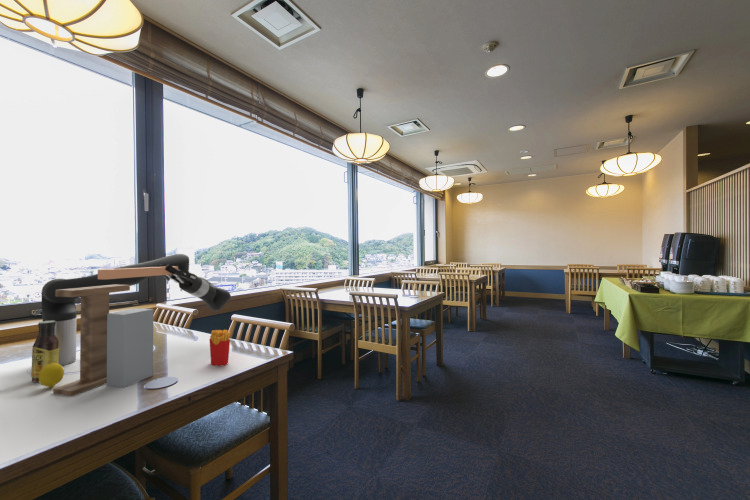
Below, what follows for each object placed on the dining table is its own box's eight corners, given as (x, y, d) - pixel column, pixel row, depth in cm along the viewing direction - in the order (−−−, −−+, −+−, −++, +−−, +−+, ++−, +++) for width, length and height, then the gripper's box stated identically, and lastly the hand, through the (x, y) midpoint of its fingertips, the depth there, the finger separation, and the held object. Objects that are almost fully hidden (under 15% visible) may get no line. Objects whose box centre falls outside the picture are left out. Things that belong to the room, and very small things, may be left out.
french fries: (206, 363, 116) (207, 330, 117) (216, 360, 120) (216, 328, 121) (224, 367, 113) (224, 333, 113) (233, 363, 117) (233, 330, 117)
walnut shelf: (53, 393, 92) (54, 289, 92) (112, 372, 108) (113, 284, 109) (72, 396, 90) (73, 290, 90) (130, 374, 107) (130, 284, 107)
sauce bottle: (27, 381, 101) (28, 322, 101) (52, 374, 106) (53, 318, 107) (37, 384, 98) (37, 324, 98) (62, 377, 104) (63, 320, 104)
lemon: (47, 392, 93) (47, 366, 93) (33, 390, 94) (34, 365, 94) (68, 384, 98) (68, 360, 98) (55, 382, 99) (55, 358, 100)
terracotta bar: (97, 279, 93) (97, 269, 93) (171, 273, 118) (171, 266, 118) (105, 279, 92) (105, 269, 92) (177, 274, 117) (178, 266, 117)
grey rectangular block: (106, 385, 97) (107, 313, 98) (137, 373, 107) (137, 308, 107) (123, 387, 96) (123, 314, 96) (152, 375, 106) (153, 309, 106)
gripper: (205, 294, 124) (173, 276, 109) (177, 293, 127) (143, 275, 112) (212, 278, 128) (182, 258, 113) (184, 277, 131) (152, 258, 116)
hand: (163, 267), depth 113 cm, fingers closed on terracotta bar, 3 cm apart
